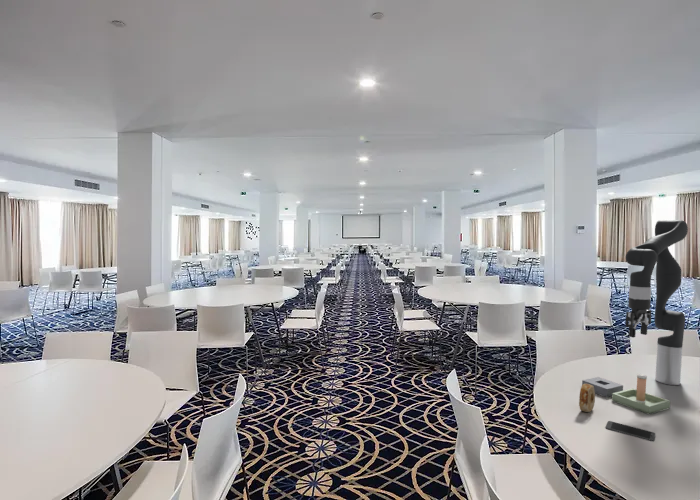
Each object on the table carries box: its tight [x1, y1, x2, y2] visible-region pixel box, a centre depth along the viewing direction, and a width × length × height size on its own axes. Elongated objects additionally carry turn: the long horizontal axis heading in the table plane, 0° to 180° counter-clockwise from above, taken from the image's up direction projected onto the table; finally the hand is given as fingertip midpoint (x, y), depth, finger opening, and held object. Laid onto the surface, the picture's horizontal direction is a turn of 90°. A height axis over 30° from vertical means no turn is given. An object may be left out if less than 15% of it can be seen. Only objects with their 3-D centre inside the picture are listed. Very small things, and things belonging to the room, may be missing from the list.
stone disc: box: [578, 384, 596, 413], centre depth 160 cm, size 10×4×10 cm, turn 134°
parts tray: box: [611, 388, 671, 415], centre depth 167 cm, size 14×14×3 cm
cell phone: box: [604, 420, 656, 442], centre depth 144 cm, size 7×14×1 cm, turn 51°
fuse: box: [636, 373, 648, 404], centre depth 167 cm, size 3×3×11 cm
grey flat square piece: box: [581, 376, 624, 398], centre depth 181 cm, size 11×11×4 cm
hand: (637, 335), depth 174 cm, fingers open, 8 cm apart
